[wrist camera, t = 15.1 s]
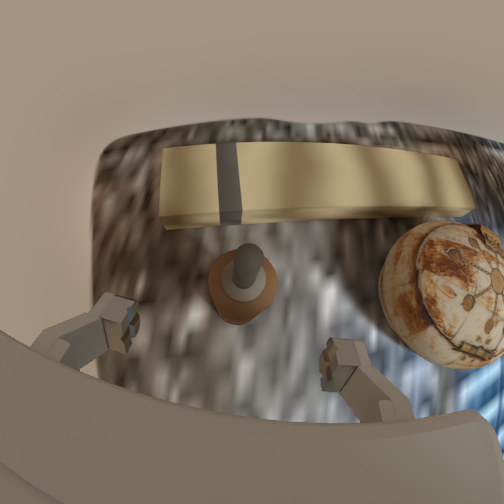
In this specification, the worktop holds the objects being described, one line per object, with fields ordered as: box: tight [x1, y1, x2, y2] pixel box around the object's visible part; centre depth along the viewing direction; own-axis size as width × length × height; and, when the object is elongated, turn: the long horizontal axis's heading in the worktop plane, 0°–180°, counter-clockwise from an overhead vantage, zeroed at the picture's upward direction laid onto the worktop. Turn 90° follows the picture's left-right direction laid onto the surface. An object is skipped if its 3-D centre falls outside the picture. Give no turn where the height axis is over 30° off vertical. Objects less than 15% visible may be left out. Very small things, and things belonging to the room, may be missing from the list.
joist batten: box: [159, 142, 476, 230], centre depth 22 cm, size 30×6×2 cm, turn 96°
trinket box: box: [378, 220, 504, 369], centre depth 17 cm, size 13×15×8 cm
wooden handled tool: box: [208, 243, 277, 325], centre depth 14 cm, size 3×3×12 cm
